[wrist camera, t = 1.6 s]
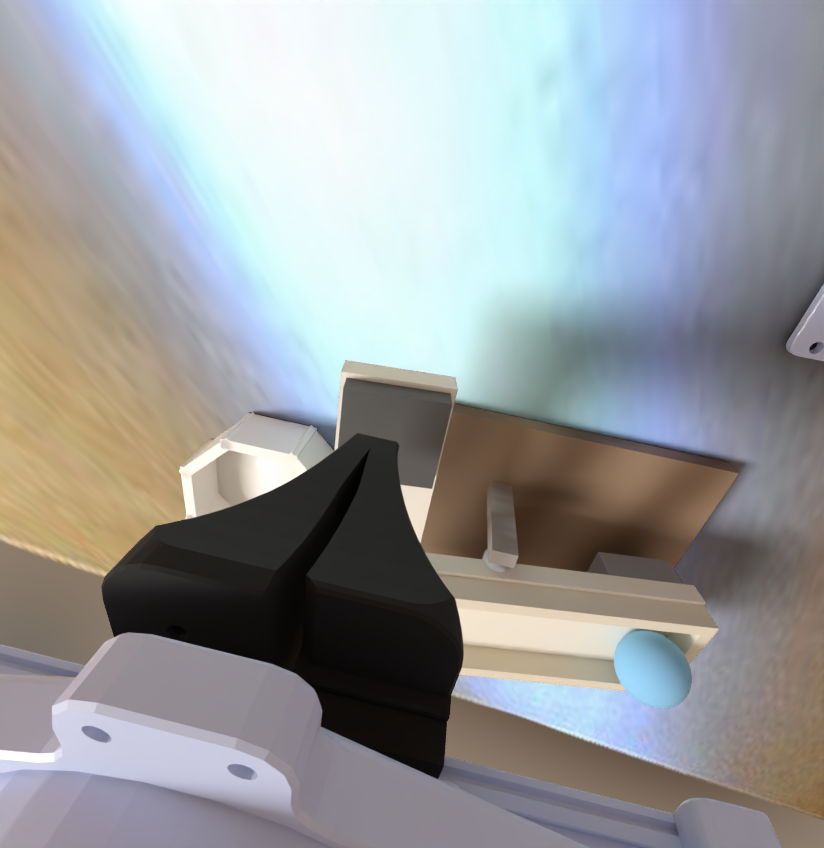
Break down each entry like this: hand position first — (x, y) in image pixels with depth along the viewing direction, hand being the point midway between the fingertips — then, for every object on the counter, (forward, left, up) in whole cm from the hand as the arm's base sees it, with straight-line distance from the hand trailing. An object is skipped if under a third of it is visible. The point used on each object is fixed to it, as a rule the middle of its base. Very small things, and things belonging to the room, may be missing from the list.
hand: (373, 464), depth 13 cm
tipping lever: (-7, +6, -7) cm, 11 cm away
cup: (+7, +10, -10) cm, 16 cm away
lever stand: (-8, +10, -10) cm, 16 cm away
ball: (-14, +10, -3) cm, 18 cm away
